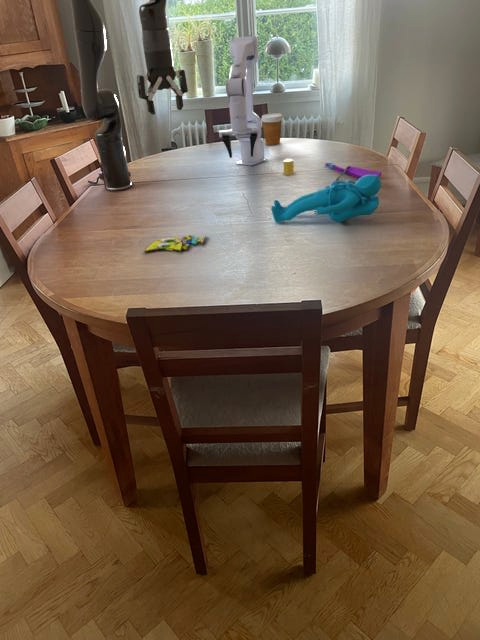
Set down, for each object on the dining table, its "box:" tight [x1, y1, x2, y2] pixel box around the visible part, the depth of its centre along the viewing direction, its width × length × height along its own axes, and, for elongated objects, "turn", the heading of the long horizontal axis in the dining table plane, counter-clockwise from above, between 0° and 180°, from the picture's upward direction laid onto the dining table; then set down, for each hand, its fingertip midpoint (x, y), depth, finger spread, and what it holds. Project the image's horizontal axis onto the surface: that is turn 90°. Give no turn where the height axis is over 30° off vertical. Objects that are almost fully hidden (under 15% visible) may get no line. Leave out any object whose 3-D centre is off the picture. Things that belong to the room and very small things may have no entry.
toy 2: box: [270, 175, 382, 224], centre depth 134 cm, size 17×11×30 cm
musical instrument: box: [324, 162, 382, 185], centre depth 168 cm, size 24×2×20 cm
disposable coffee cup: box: [260, 112, 283, 146], centre depth 214 cm, size 10×10×12 cm
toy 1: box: [144, 234, 207, 254], centre depth 130 cm, size 10×1×15 cm
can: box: [282, 158, 295, 176], centre depth 176 cm, size 4×4×5 cm
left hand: (166, 111), depth 140 cm, fingers open, 8 cm apart
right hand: (241, 156), depth 173 cm, fingers open, 7 cm apart
